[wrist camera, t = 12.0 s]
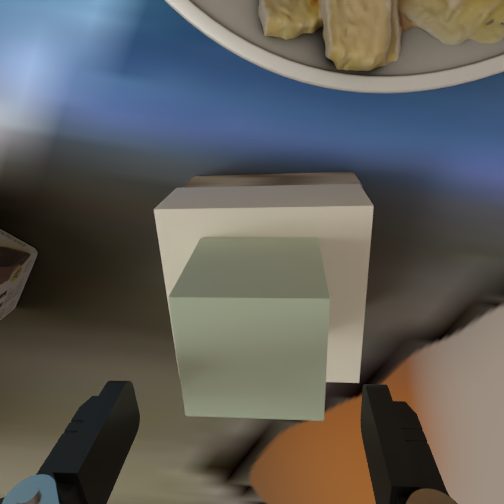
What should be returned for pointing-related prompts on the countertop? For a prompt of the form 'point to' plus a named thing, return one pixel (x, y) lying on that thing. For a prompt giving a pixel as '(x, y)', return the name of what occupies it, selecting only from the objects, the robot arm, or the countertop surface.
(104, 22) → the countertop surface
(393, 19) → the bowl
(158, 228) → the tower top
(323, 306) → the sage cube
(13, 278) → the coffee box
